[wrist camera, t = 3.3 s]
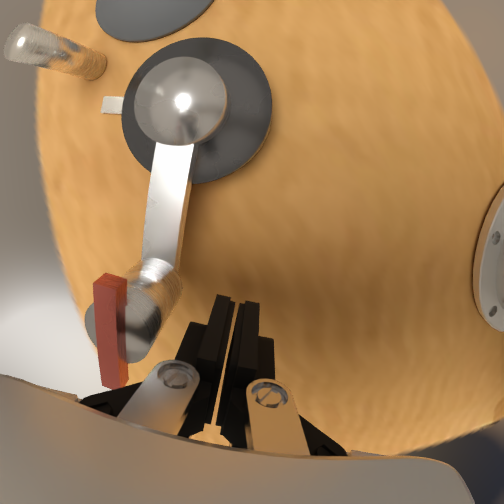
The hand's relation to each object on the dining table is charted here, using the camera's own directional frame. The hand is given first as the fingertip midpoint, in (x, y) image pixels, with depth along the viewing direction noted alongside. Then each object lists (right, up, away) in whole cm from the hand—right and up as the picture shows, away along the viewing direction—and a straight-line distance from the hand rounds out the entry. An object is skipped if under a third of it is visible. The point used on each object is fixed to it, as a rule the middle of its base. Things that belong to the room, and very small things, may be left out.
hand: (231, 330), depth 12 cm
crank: (-3, +5, +1) cm, 6 cm away
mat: (-5, +19, 0) cm, 19 cm away
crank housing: (-4, +11, +3) cm, 12 cm away
